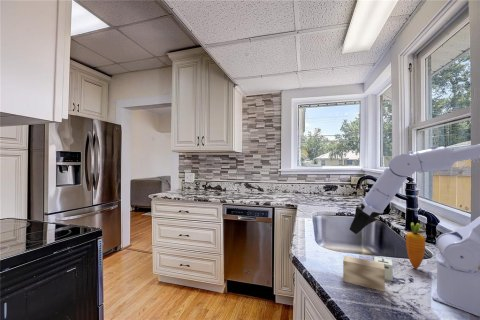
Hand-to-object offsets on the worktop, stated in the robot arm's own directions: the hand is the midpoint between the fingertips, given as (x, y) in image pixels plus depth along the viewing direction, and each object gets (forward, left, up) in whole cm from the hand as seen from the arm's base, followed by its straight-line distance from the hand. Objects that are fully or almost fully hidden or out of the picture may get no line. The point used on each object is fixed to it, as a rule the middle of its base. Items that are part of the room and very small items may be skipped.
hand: (355, 229), depth 67 cm
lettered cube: (-5, -7, -14) cm, 17 cm away
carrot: (-10, -20, -14) cm, 26 cm away
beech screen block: (-3, +2, -14) cm, 15 cm away
